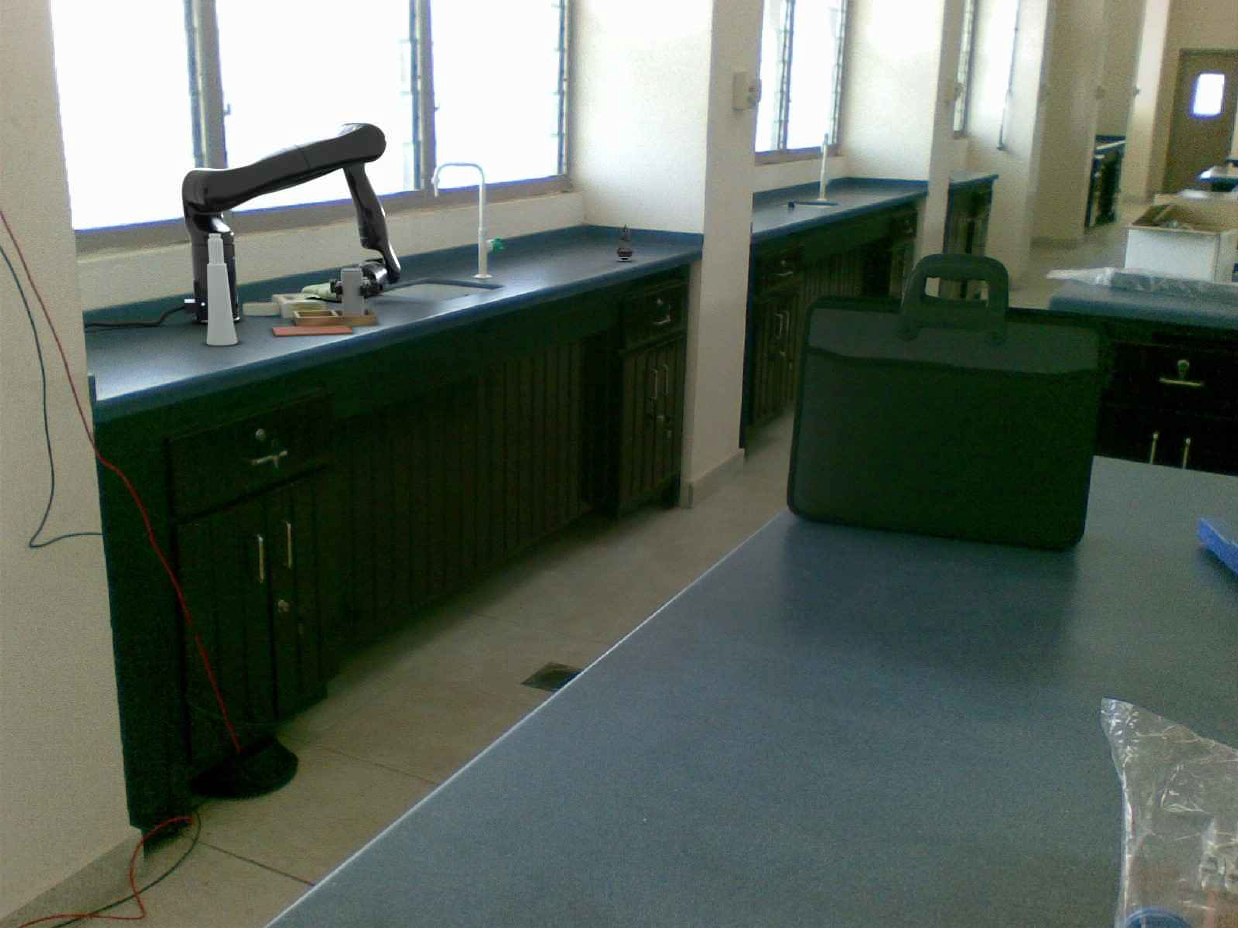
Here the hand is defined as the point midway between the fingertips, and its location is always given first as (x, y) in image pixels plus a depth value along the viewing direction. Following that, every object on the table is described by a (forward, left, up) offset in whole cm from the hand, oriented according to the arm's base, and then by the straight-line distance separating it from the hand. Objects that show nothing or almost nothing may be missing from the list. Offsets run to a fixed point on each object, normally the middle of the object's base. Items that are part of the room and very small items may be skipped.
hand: (349, 290), depth 268 cm
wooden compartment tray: (-3, +2, -7) cm, 9 cm away
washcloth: (+3, +41, -8) cm, 42 cm away
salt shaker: (+103, +103, -8) cm, 146 cm away
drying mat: (-9, -8, -7) cm, 14 cm away
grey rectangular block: (+1, +2, -8) cm, 8 cm away
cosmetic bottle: (-28, -18, -8) cm, 34 cm away
